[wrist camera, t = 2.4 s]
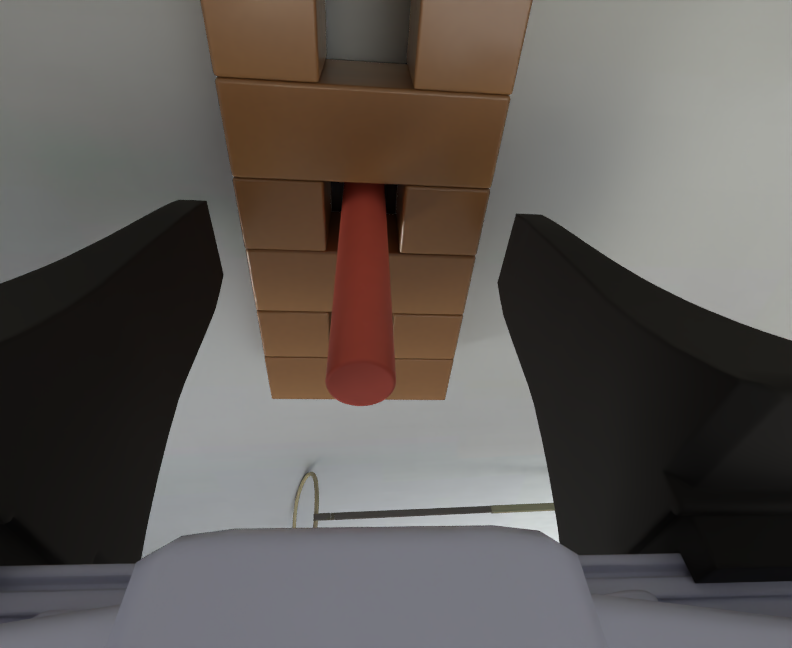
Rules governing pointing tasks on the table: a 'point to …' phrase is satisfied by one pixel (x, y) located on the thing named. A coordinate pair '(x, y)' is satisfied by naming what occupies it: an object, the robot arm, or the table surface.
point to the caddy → (362, 169)
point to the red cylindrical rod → (362, 302)
